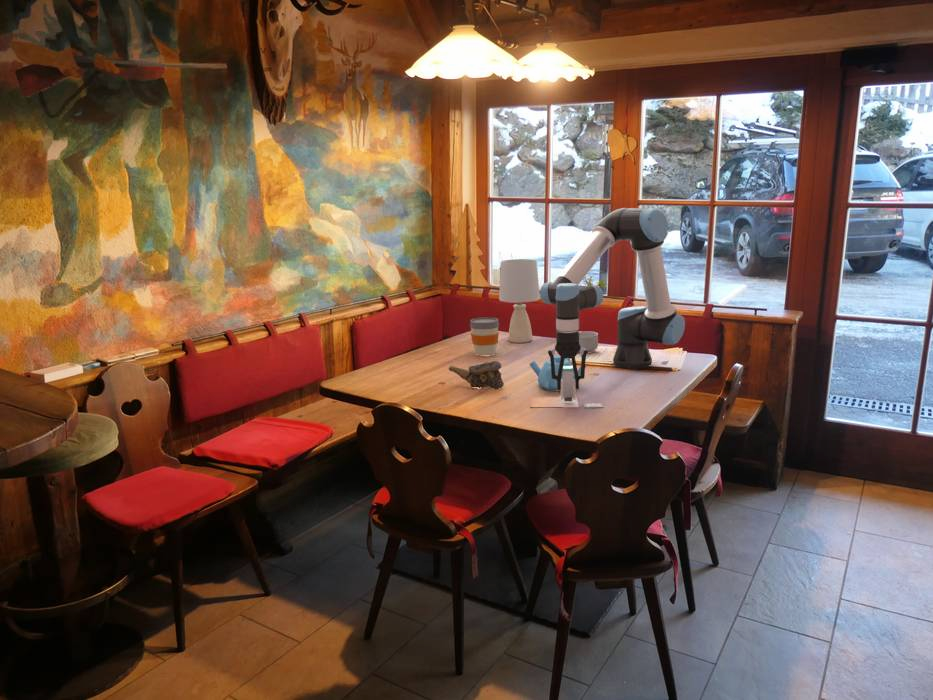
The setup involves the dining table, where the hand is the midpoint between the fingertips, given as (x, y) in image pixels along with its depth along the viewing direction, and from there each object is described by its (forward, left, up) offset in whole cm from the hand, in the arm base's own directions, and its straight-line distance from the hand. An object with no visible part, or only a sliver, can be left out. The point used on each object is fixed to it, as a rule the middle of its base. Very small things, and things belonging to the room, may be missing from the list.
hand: (568, 398), depth 256 cm
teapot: (+3, -22, -2) cm, 22 cm away
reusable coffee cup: (+32, -74, -2) cm, 80 cm away
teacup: (-11, -76, -2) cm, 77 cm away
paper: (+5, -2, -2) cm, 5 cm away
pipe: (+33, -22, -2) cm, 39 cm away
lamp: (+17, -99, -2) cm, 100 cm away
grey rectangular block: (0, 0, -1) cm, 1 cm away
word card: (-8, +3, -2) cm, 9 cm away
